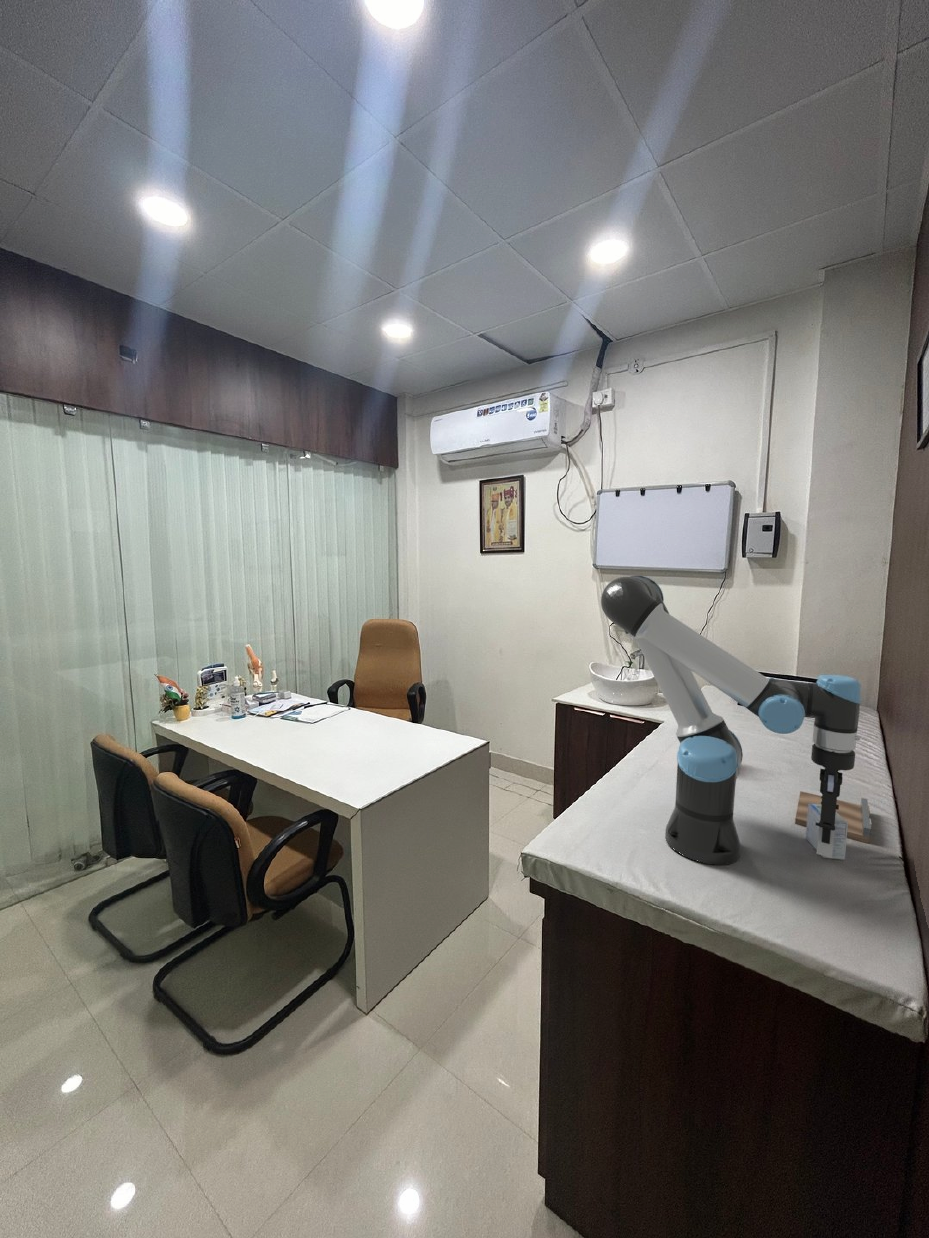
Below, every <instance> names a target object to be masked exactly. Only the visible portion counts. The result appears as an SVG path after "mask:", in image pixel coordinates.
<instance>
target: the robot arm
mask: <svg viewBox="0 0 929 1238" xmlns="http://www.w3.org/2000/svg"><path fill="white" fill-rule="evenodd" d="M664 600H665V598H664V594H663V590H662V588H661V587H660V585H659V584H658V583H657V582H656V581H654V580H653V579H652V578H650V577H648V576H644V575H631V576H621V577H618V578H617V577H616V578H614V579H613V580H611V581H610V582H608V584H607V585H606V586H605V587H604V588H603V590H602V593H601V597H600V605H601V610H602V612H603V614H604V615H605V616H606V617H607V619H609V620H610V621H611V622H612V623H614V624H615V625H616V626H618V627H619V628H621V629H623V630H624V633H625V634H626V636H628V637H630V638H633V639H635V641H636V643H637V646H638V647H639V649H640V651H641V654H642V655H643V657H644V659H645V661H646V663H647V665H648V667H649V669H650V671H651V673H652V675H653V677H654V679H655V681H656V683H657V685H658V687H659V689H660V691H661V693H662V696H663V697H664V700H665V701H666V704H667V706H668V707H669V709H670V711H671V714H672V716H673V717H674V720H675V722H676V724H677V729H676V732H675V735H676V736H675V737H676V738H677V740H678V741H679V746H678V750H677V753H676V754H677V755H676V759H677V761H676V762H677V764H676V765H677V766H676V767H677V770H676V783H675V784H676V787H675V804H674V808H673V811H672V812H671V815H670V817H669V819H668V821H667V824H666V826H665V835H664V836H665V837H664V838H665V839H666V840H665V842H666V841H667V842H666V844H667V843H668V844H669V845H668V844H667V845H668V847H670V846H671V847H672V848H674V849H675V850H676V851H677V852H680V853H681V854H683V855H684V856H686V857H688V858H690V859H689V860H691V859H694V860H698V861H700V862H699V863H701V862H703V863H702V864H705V863H708V864H707V865H712V864H714V865H713V866H717V865H718V866H723V865H729V864H733V863H734V862H737V861H738V860H739V859H740V857H741V842H740V838H739V834H738V831H737V828H736V824H735V820H734V808H735V797H736V796H735V795H736V783H737V778H738V775H739V771H740V767H741V764H742V762H743V757H744V756H743V747H742V744H741V742H740V739H739V738H738V736H736V734H735V733H734V732H733V731H732V730H731V729H729V728H728V724H727V723H726V721H725V719H724V718H723V716H721V715H719V714H716V713H714V712H713V711H712V709H711V706H710V704H709V702H708V700H707V698H706V697H705V695H704V692H703V691H702V689H701V686H700V685H699V683H698V681H697V679H696V677H695V676H694V675H695V674H696V675H697V676H699V677H700V678H702V679H703V680H704V681H706V682H708V683H709V684H710V685H712V686H713V687H714V688H717V689H718V690H719V691H721V692H722V693H723V694H725V695H726V696H728V697H729V698H731V699H732V700H733V701H735V702H736V703H738V704H740V705H741V706H742V707H744V708H745V709H747V710H748V711H749V712H751V713H752V714H754V715H755V716H757V717H758V719H759V721H760V722H761V723H762V725H763V726H764V727H765V728H766V729H767V730H769V731H771V733H772V732H773V733H776V734H781V735H788V734H791V733H794V732H796V731H797V730H799V729H800V728H801V726H802V725H803V723H804V720H805V717H806V718H814V721H813V722H814V723H813V731H812V743H813V744H812V746H811V754H810V755H811V757H810V758H811V761H812V762H813V763H814V764H815V765H817V766H820V767H823V768H820V769H819V770H820V771H819V781H820V787H819V793H821V795H820V796H821V798H822V801H821V804H822V806H821V817H820V822H819V823H817V822H816V824H815V825H816V826H819V830H818V841H817V850H816V855H820V856H821V855H822V856H826V857H829V858H828V859H830V858H832V853H833V842H834V831H835V814H836V809H837V810H839V805H836V803H837V800H838V798H839V797H840V793H841V786H842V784H843V773H842V772H840V771H851V770H852V769H854V768H855V761H856V752H855V750H856V748H857V747H856V746H857V741H861V736H860V735H858V728H859V719H860V710H861V709H860V708H861V702H862V701H861V692H862V691H861V689H862V688H861V687H862V684H861V682H860V681H859V679H857V678H854V677H851V676H846V675H842V674H821V675H819V676H818V677H817V680H816V682H806V681H805V682H804V681H797V680H787V679H780V678H779V679H777V678H774V677H768V678H767V677H766V676H765V675H763V674H761V673H760V672H759V671H757V670H755V669H754V668H752V667H751V666H750V665H748V664H747V663H745V662H744V661H742V660H740V659H739V658H737V657H735V656H734V655H732V653H729V652H728V651H726V650H725V649H723V648H722V647H720V646H718V645H717V644H716V643H715V642H713V641H711V640H709V639H708V638H707V637H705V636H703V635H702V634H700V633H699V632H697V631H696V630H694V629H693V628H691V627H689V625H687V624H685V623H683V622H682V621H681V620H679V619H678V618H675V617H674V616H673V615H671V614H670V613H669V610H668V609H667V606H666V604H665V602H664ZM671 847H670V848H671ZM672 848H671V849H672ZM677 852H676V853H677ZM684 856H683V857H684ZM822 856H821V857H822ZM686 857H685V858H686ZM688 858H687V859H688ZM694 860H693V861H694Z"/></svg>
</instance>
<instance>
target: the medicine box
mask: <svg viewBox="0 0 929 1238" xmlns="http://www.w3.org/2000/svg"><path fill="white" fill-rule="evenodd" d="M821 806H822V805H821V804H809V805H808V815H807V827H805V828H806V829H805V830H806V831H805V839H806V840H807V842H809V844H810V845H811V846H813V849H815V850H816V851H817V841H818V830H819V826H816V825H815V824H816V822H817V823H819V822H820V817H821ZM847 826H848V823H847V821H846V820H844V819H843V818H842V817H841V816H840V815H839V814H838V813H837V812H836V814H835V831H834V842H833V853H832V858H829V857H826V856H822V855H820V856H821V857H822V858H823V859H831V860H832V859H833V860H842V861H843V860H844V861H845V860H846V852H847V851H846V850H847V839H848V838H847Z"/></svg>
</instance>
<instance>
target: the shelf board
mask: <svg viewBox="0 0 929 1238" xmlns="http://www.w3.org/2000/svg"><path fill="white" fill-rule="evenodd" d="M821 796H822V795H818V794H813V793H809V792H805V791H799V798H798V802H797V808H796V813H795V819H794V825H798V826H802V827H805V828H807V815H808V805H809V804H821V801H822V798H821ZM821 805H822V804H821ZM836 805H839V810H837V809H836V812H837V813H838V814H839V815H840V816H841V817H842V818H843V819H844V820H846V821H847V823H848V826H847V839H851V840H855V841H857V840H858V842H861V843H865V844H870V838H871V829H872V819H871V818H870V814H871V813H870V812H871V810H870V809H871V808H870V805H869V802H868V799H867V798H864V797H861V798H860V804H856V803H854V802H853V803H852V802H848V801H843V800H840V799H837V803H836Z"/></svg>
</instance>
